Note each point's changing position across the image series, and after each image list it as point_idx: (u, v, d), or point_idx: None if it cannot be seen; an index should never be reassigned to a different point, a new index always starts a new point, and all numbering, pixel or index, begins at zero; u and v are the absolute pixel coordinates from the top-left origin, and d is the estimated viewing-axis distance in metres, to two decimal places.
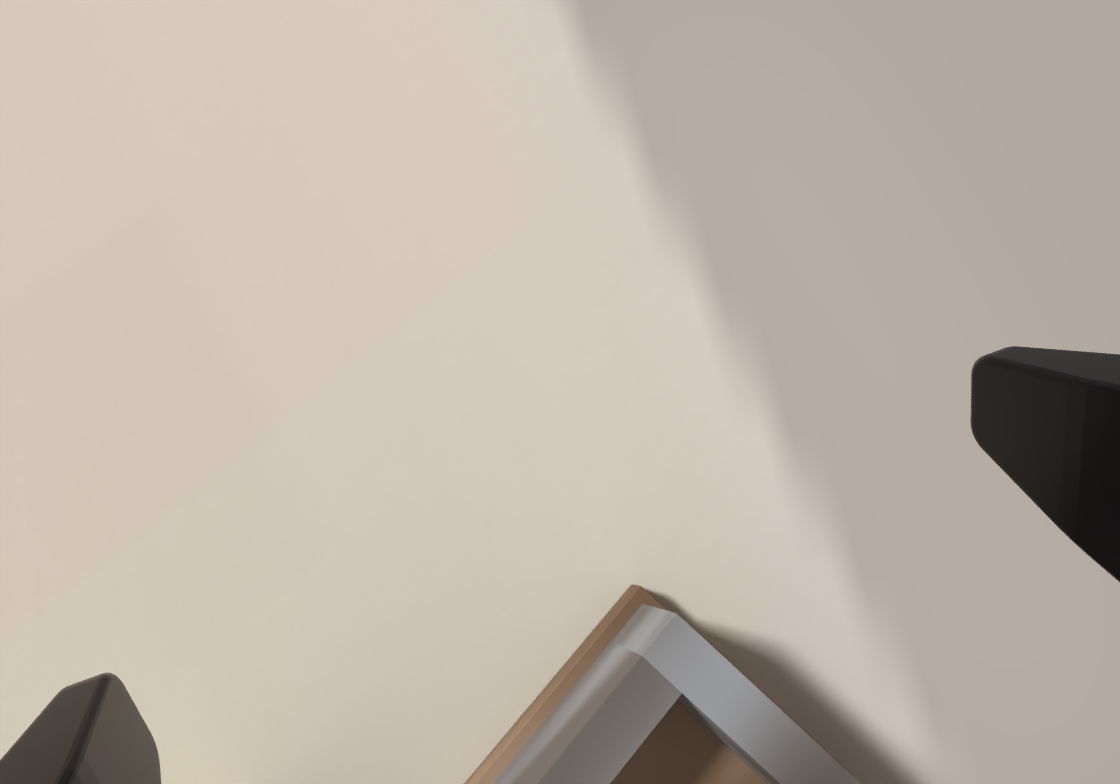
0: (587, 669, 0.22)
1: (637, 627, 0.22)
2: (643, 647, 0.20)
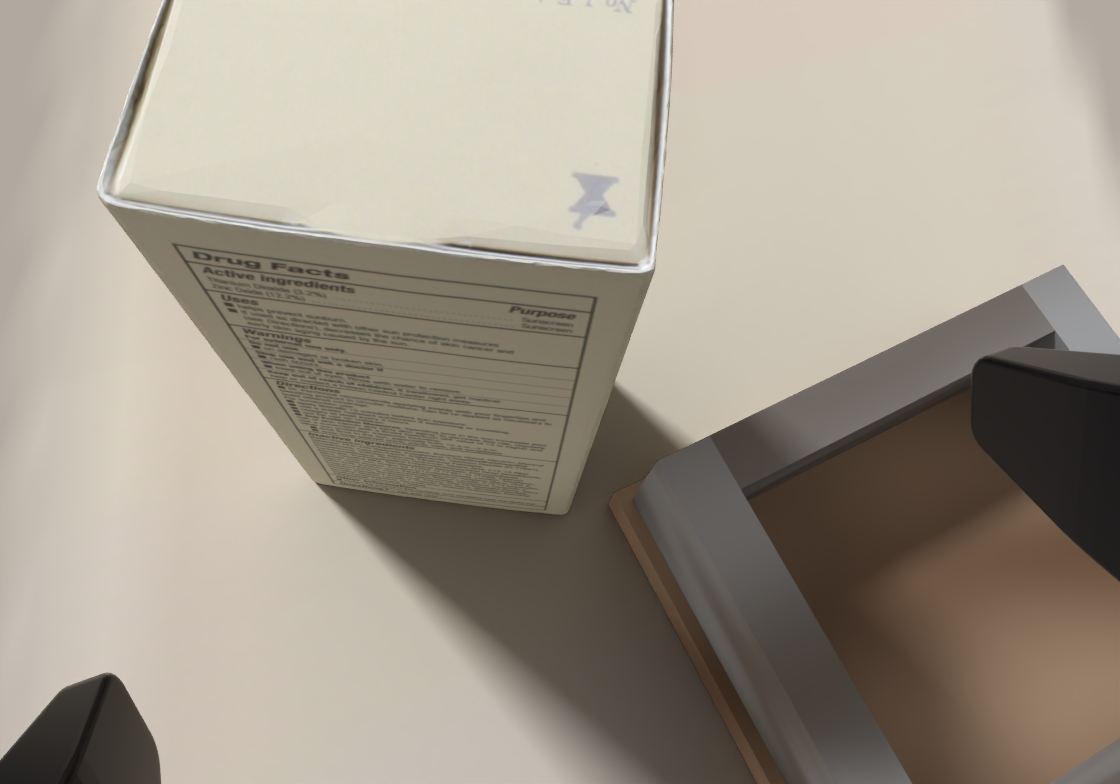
0: None
1: None
2: None
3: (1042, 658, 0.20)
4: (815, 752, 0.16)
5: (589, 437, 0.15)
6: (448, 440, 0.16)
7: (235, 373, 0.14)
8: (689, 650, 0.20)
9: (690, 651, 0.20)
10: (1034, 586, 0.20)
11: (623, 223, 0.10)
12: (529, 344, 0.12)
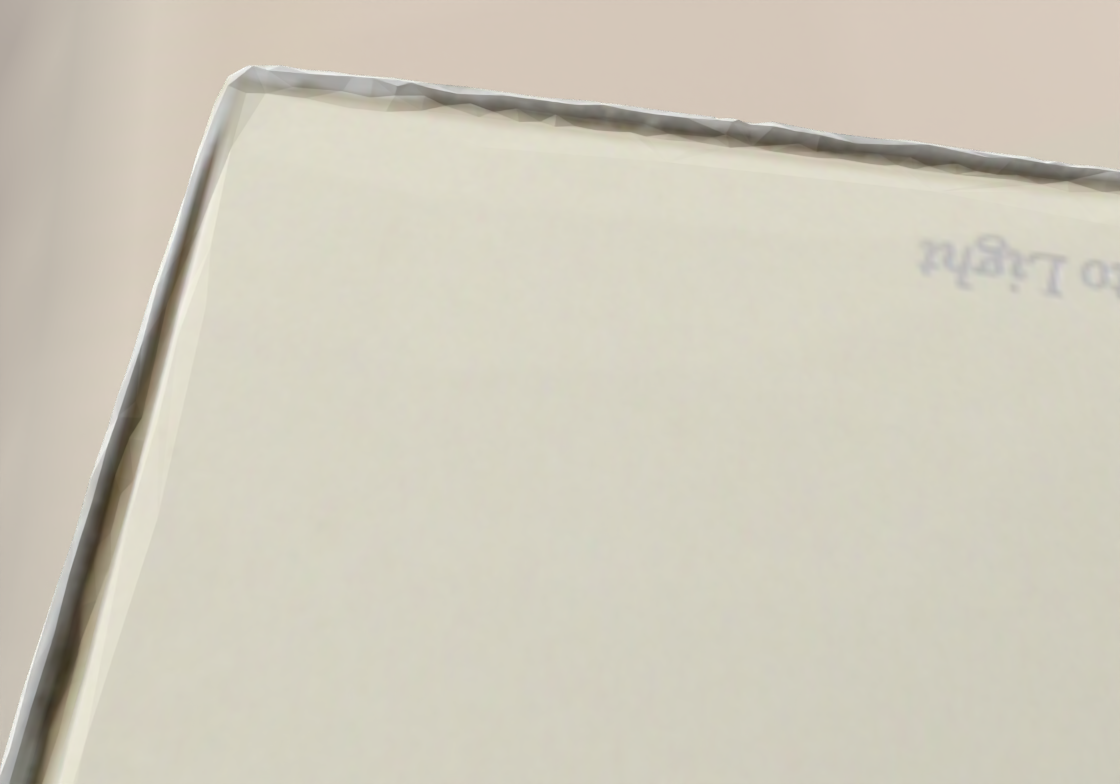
0: None
1: None
2: None
3: None
4: None
5: None
6: None
7: None
8: None
9: None
10: None
11: None
12: None
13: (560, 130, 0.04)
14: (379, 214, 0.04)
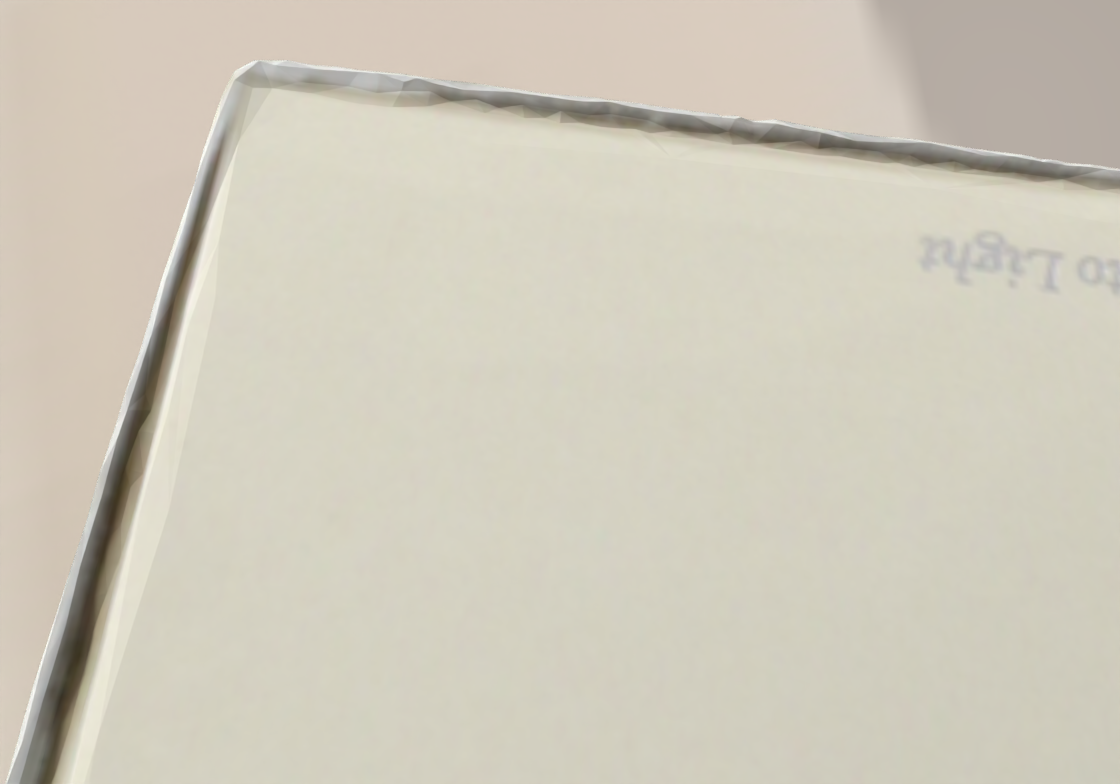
0: None
1: None
2: None
3: None
4: None
5: None
6: None
7: None
8: None
9: None
10: None
11: None
12: None
13: (566, 126, 0.04)
14: (386, 208, 0.04)
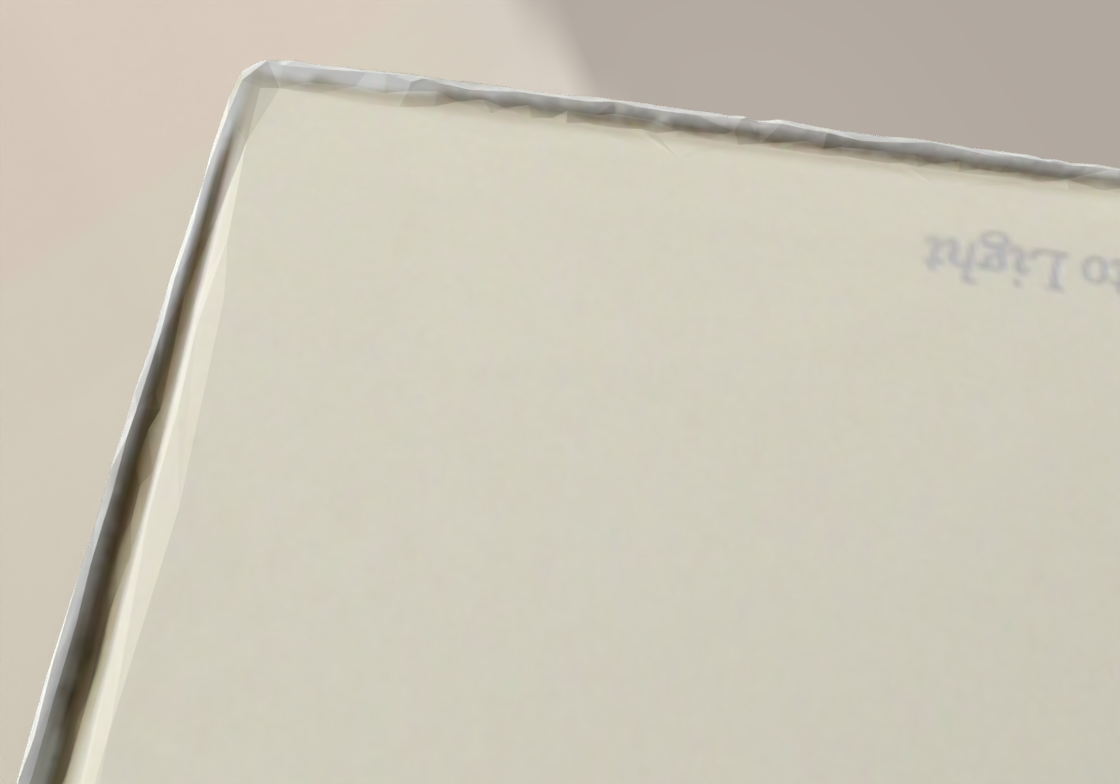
0: None
1: None
2: None
3: None
4: None
5: None
6: None
7: None
8: None
9: None
10: None
11: None
12: None
13: (570, 127, 0.04)
14: (394, 208, 0.04)
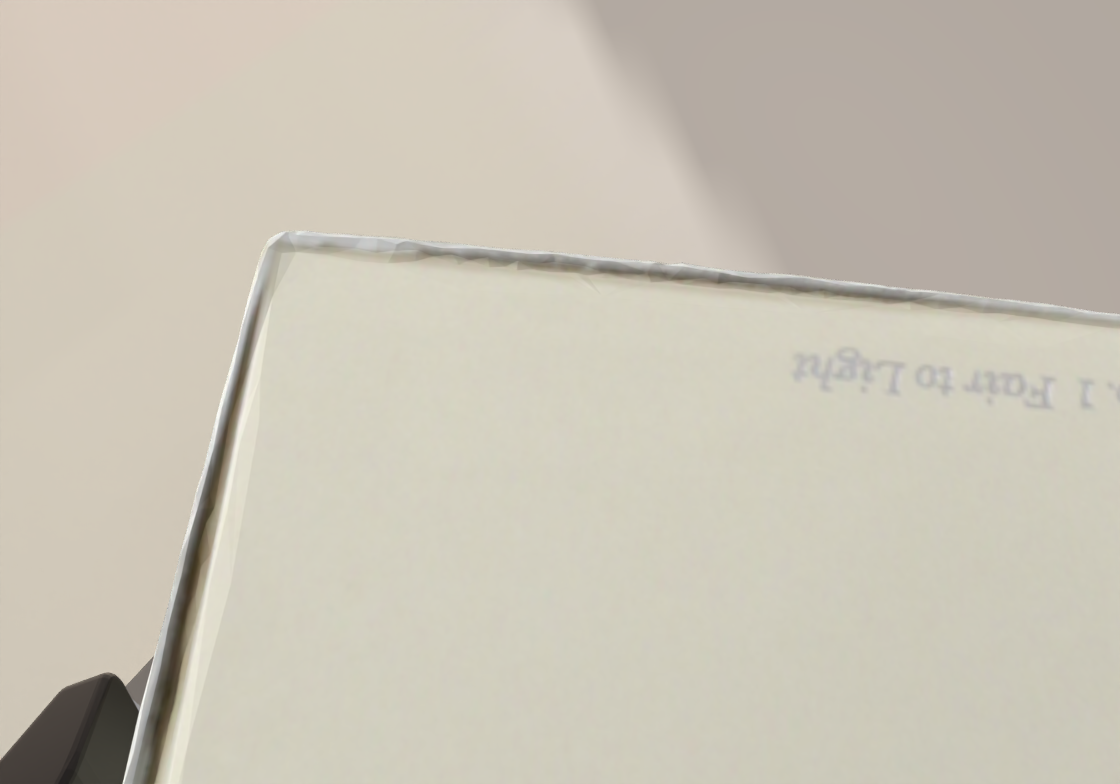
0: None
1: None
2: None
3: None
4: None
5: None
6: None
7: None
8: None
9: None
10: None
11: None
12: None
13: (521, 274, 0.05)
14: (385, 346, 0.05)
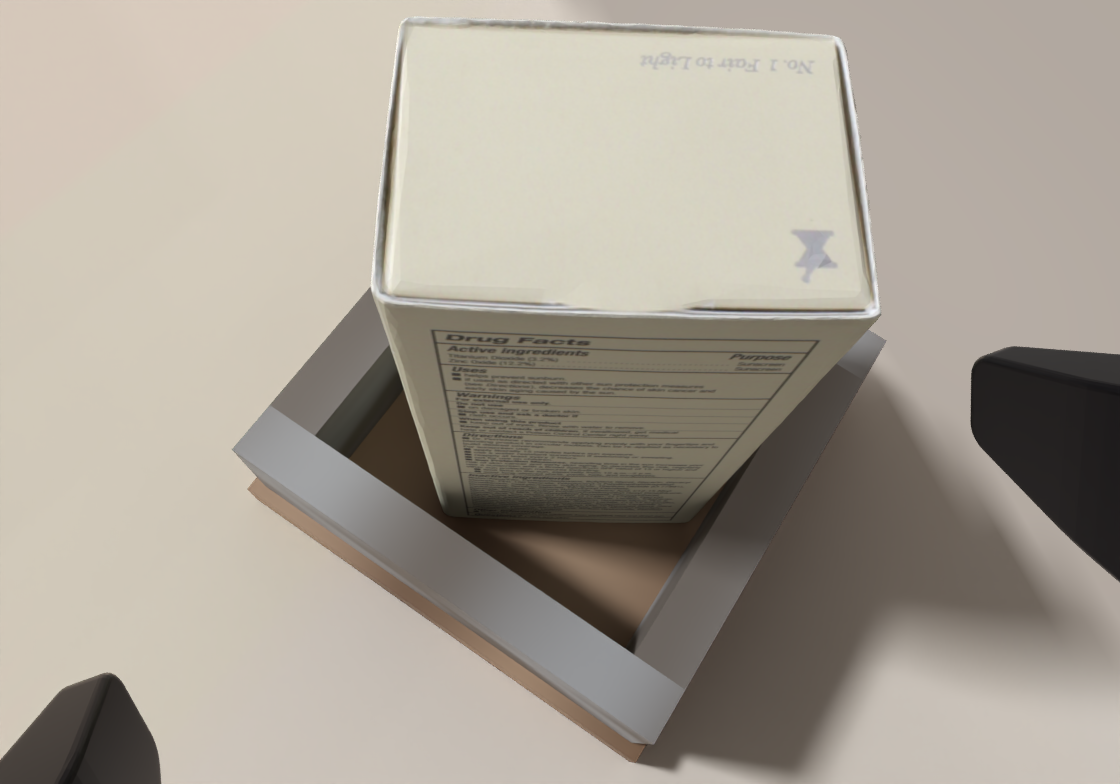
0: None
1: None
2: None
3: None
4: (463, 612, 0.18)
5: (748, 454, 0.16)
6: (608, 469, 0.17)
7: (425, 430, 0.15)
8: (376, 582, 0.22)
9: (377, 583, 0.22)
10: None
11: (846, 273, 0.11)
12: (734, 383, 0.13)
13: (515, 31, 0.12)
14: (459, 61, 0.12)
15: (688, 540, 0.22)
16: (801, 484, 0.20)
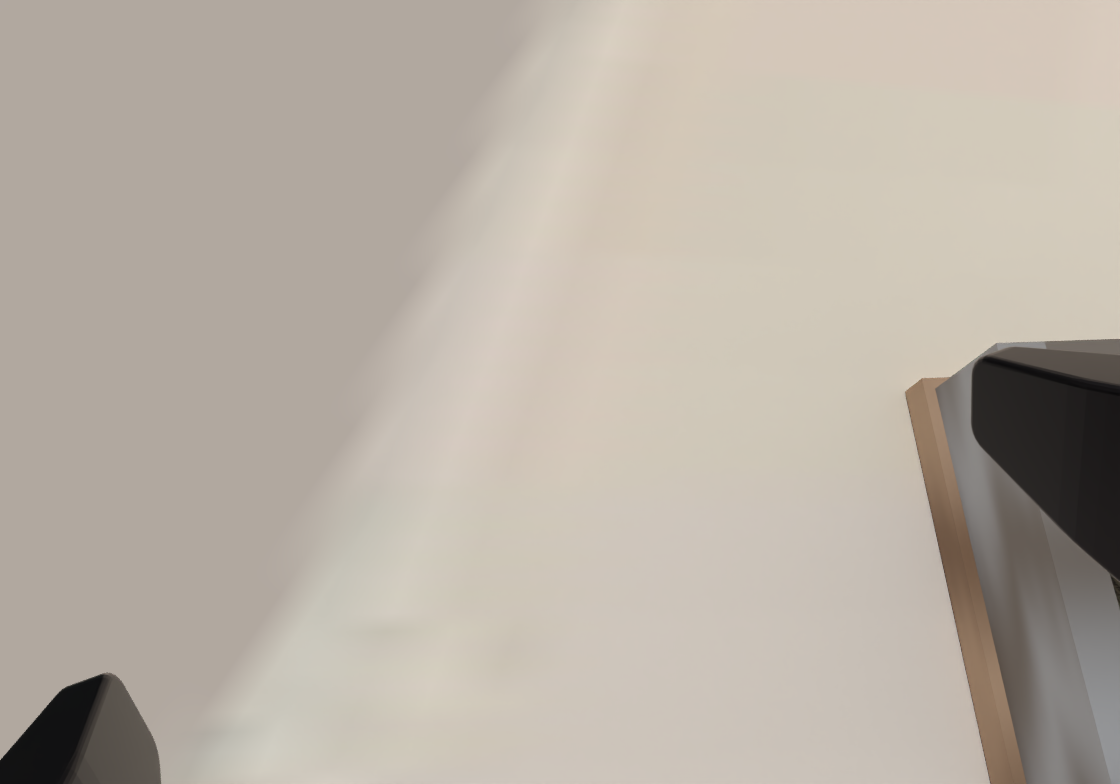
0: None
1: None
2: None
3: None
4: (1057, 601, 0.19)
5: None
6: None
7: None
8: (939, 523, 0.23)
9: (940, 524, 0.23)
10: None
11: None
12: None
13: None
14: None
15: None
16: None
